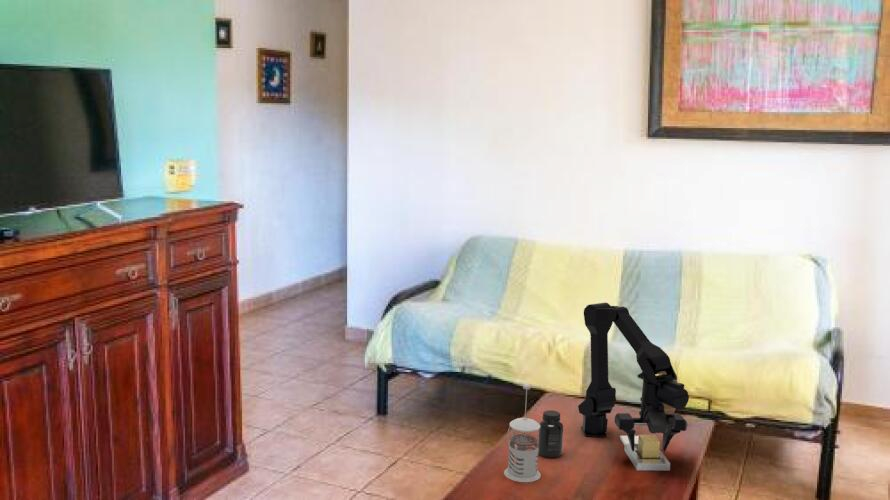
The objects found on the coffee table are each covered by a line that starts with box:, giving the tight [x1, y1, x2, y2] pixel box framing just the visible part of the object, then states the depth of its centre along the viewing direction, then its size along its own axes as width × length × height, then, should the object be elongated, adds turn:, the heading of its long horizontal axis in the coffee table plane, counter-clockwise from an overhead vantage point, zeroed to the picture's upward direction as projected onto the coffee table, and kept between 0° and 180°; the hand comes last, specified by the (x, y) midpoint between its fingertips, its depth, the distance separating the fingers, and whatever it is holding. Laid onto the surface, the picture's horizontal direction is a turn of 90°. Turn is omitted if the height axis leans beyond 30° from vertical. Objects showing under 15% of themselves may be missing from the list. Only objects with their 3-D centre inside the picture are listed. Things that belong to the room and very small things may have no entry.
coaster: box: [619, 435, 639, 446], centre depth 242 cm, size 8×8×1 cm
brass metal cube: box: [637, 434, 661, 459], centre depth 229 cm, size 5×5×7 cm
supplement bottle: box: [537, 409, 564, 459], centre depth 232 cm, size 7×7×12 cm
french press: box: [503, 383, 541, 483], centre depth 219 cm, size 10×12×25 cm
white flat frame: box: [623, 444, 671, 472], centre depth 231 cm, size 9×13×2 cm
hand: (648, 451), depth 229 cm, fingers open, 8 cm apart
